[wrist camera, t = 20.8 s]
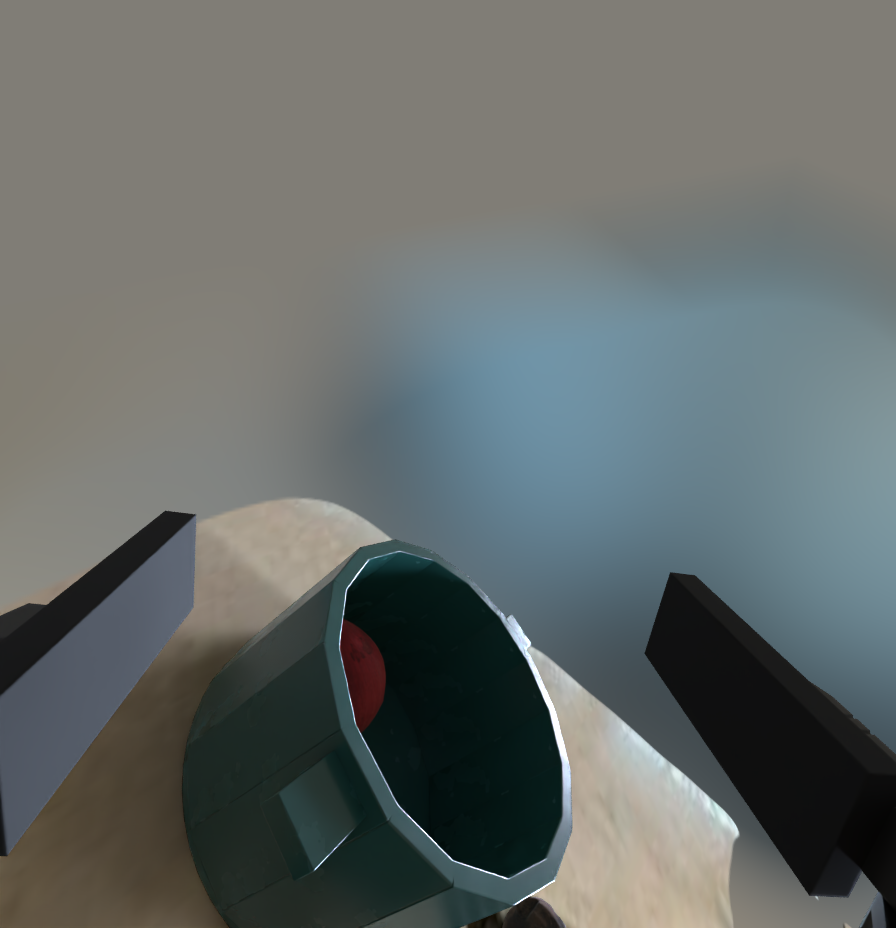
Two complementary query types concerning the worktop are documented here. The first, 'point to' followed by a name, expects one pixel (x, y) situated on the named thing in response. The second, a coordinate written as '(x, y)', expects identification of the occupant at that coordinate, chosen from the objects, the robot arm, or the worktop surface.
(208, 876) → the pot
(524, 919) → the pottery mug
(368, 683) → the onion
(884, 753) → the robot arm
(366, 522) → the worktop surface
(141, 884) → the worktop surface
